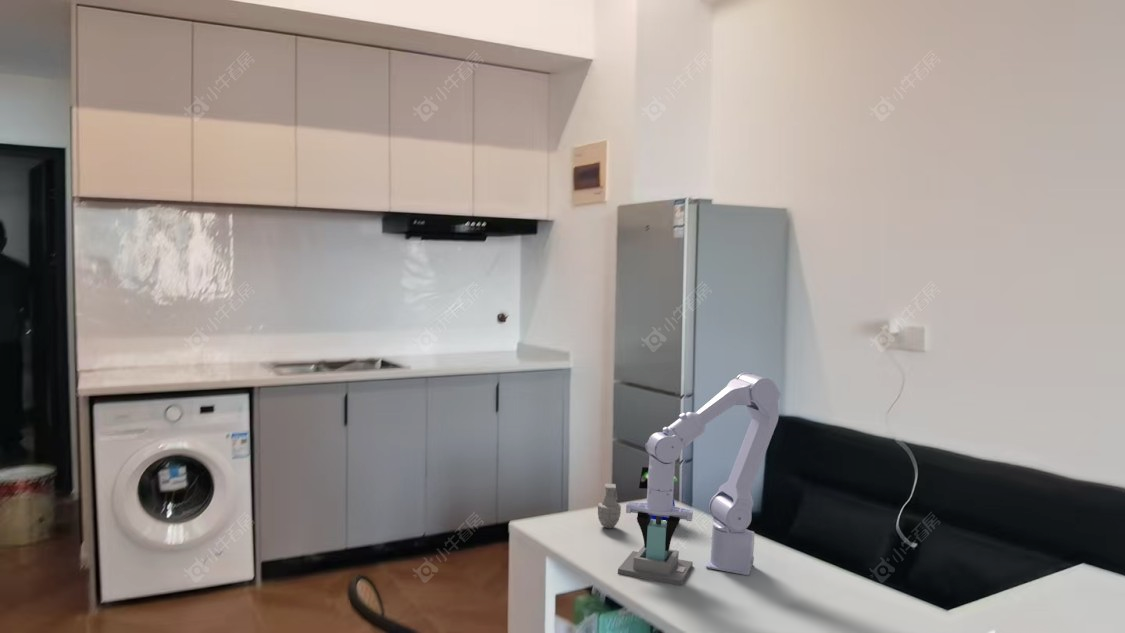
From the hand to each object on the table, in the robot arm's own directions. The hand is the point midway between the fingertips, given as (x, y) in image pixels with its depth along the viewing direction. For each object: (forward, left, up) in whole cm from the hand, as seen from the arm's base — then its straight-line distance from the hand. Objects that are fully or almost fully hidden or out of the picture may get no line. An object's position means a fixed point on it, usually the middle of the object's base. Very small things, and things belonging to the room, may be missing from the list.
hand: (657, 548), depth 172 cm
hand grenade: (+18, -22, -5) cm, 29 cm away
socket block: (0, 0, -5) cm, 5 cm away
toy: (+8, -35, -5) cm, 36 cm away
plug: (0, 0, -2) cm, 2 cm away
